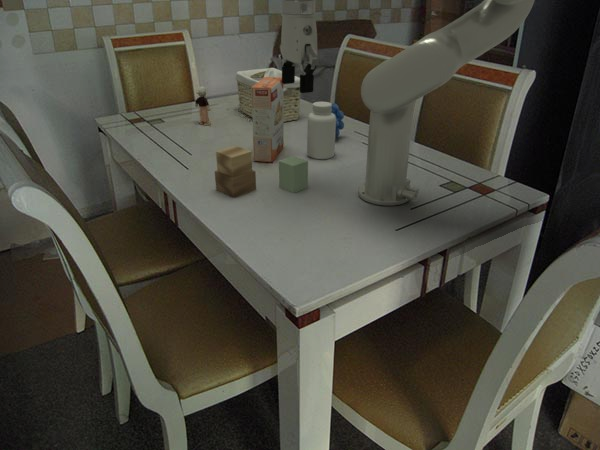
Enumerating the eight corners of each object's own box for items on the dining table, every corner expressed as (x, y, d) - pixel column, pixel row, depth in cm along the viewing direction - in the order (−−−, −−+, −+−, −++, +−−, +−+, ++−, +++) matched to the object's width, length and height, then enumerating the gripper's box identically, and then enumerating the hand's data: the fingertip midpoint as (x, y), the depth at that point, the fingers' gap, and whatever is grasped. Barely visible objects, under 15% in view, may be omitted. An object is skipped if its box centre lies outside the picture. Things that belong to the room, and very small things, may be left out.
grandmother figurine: (216, 124, 175) (213, 86, 169) (209, 126, 172) (206, 89, 166) (200, 120, 179) (196, 84, 173) (192, 123, 176) (188, 86, 170)
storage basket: (235, 110, 191) (233, 70, 184) (274, 105, 198) (274, 66, 191) (262, 127, 172) (260, 83, 165) (304, 120, 179) (304, 78, 172)
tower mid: (252, 171, 123) (251, 151, 121) (232, 177, 119) (231, 157, 117) (236, 164, 127) (235, 145, 125) (217, 171, 123) (215, 151, 121)
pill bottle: (326, 161, 142) (327, 108, 135) (301, 156, 146) (302, 104, 139) (339, 153, 148) (341, 102, 141) (315, 148, 152) (316, 98, 145)
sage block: (307, 187, 127) (307, 160, 123) (293, 193, 123) (293, 166, 120) (293, 181, 130) (293, 155, 126) (279, 187, 127) (278, 160, 123)
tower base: (256, 190, 125) (255, 171, 123) (234, 198, 121) (232, 179, 119) (238, 182, 130) (237, 163, 127) (216, 190, 125) (214, 171, 123)
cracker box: (274, 163, 141) (272, 87, 132) (253, 162, 142) (249, 86, 133) (285, 147, 153) (284, 76, 144) (266, 146, 154) (263, 75, 145)
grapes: (321, 146, 154) (322, 107, 148) (309, 140, 159) (309, 102, 153) (351, 139, 160) (353, 101, 154) (338, 134, 165) (339, 97, 159)
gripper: (332, 12, 106) (328, 94, 114) (296, 4, 119) (295, 79, 127) (300, 13, 103) (298, 97, 111) (267, 5, 116) (267, 81, 124)
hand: (297, 87), depth 119 cm, fingers open, 9 cm apart
